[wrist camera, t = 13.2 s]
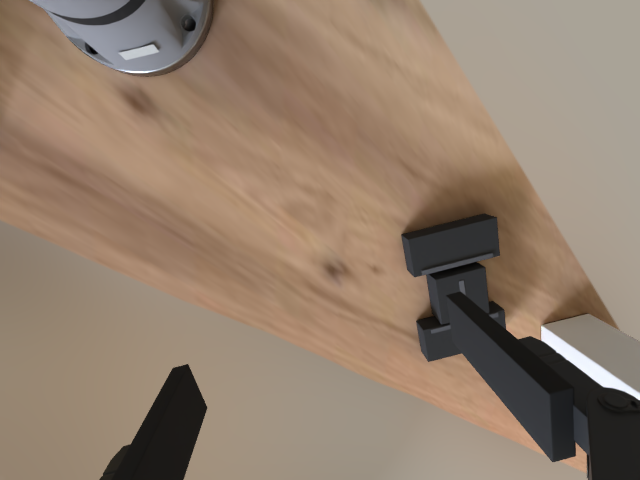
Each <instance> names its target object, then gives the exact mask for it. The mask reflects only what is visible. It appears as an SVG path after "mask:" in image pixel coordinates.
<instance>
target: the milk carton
mask: <svg viewBox="0 0 640 480" xmlns="http://www.w3.org/2000/svg"><path fill="white" fill-rule="evenodd" d="M541 337H542V341H543V342H545V343H546V344H548V345H549V346H550V347H552V348H553V349H554V350H556V352H557V353H559V354H561V355H562V356H563V357H565V358H566V360H569V361H570V362H571V363H572V364H574V365H575V366H576V367H578V368H579V369H580V370H582V371H583V372H584V373H586V374H587V375H588V376H589V377H591V378H592V379H593V380H595V381H596V382H597V383H599V384H600V385H601V386H603V387H607V388H614V389H618V390H621V391H624V392H626V393H628V394H630V395H632V396H634V397H635V398H637V399H638V400H640V341H638V340H636V339H634V338H633V337H631V336H629V335H627V334H625V333H623V332H622V331H620V330H618V329H616V328H614V327H612V326H611V325H609V324H607V323H605V322H603V321H601V320H600V319H598V318H596V317H594V316H592V315H590V314H585V315H581V316H577V317H573V318H569V319H565V320H561V321H557V322H553V323H549V324H545V325H542V326H541Z"/></svg>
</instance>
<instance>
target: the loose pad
mask: <svg viewBox="0 0 640 480" xmlns="http://www.w3.org/2000/svg"><path fill="white" fill-rule="evenodd" d="M426 276H427V283H428V289H429V296H430V302H431V309H432V314H433V315H434V316H435V317H436V318H437V319H438V321H439V322H440V323H441V324H446V323H450V320H449V313H448V306H447V300H446V295H449V294H452V293H456V292H460V291H461V292H462V293H463V294H465V295H466V296H467V297H468V298H469V299H471V300H472V301H473V302H474V303H475V304H476V305H478V306H479V307H480V308H481V309H482V310H484V311H485V312H486V313H489V312H490V311H489V301H488V291H487V281H486V271H485V267H484V266H482V265H481V264H479V263H477V262H473V263H469V264H465V265H461V266H457V267H453V268H449V269H446V270H442V271H438V272H434V273H430V274H426Z"/></svg>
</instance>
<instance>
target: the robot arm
mask: <svg viewBox="0 0 640 480" xmlns="http://www.w3.org/2000/svg"><path fill="white" fill-rule="evenodd" d="M29 1H31V2H33V3H35V4H36V5H38V6H40V7H42V8H43V9H44V10H45V11H46V12H47V14H48V15H49V16H50V17H51V19H52V20H53V21H54V22H55V23H56V25H57V26H58V27H59V28H60V30H61V31H62V32H63V33H64V34H65V35H66V37H67V38H68V39H69V40H70V41H71V42H72V43H73V44H74V45H75V46H76V47H77V48H78V49H80V50H81V51H82V52H84V53H85V54H86V55H88V56H89V57H91V58H92V59H94V60H96V61H97V62H99V63H101V64H103V65H105V66H108V67H110V68H112V69H114V70H117V71H119V72H122V73H125V74H129V75H134V76H145V77H149V76H158V75H163V74H166V73H170V72H172V71H174V70H176V69H178V68H180V67H182V66H183V65H184V64H186V63H187V62H188V61H189V60H190V59H192V58H193V57H194V55H195V54H196V53H197V52H198V51H199V49H200V48H201V46H202V45H203V43H204V41H205V39H206V37H207V34H208V32H209V29H210V25H211V21H212V16H213V4H214V0H29ZM446 300H447V306H448V313H449V320H450V326H451V333H452V340H453V343H454V344H455V345H456V346H457V348H458V349H459V350H460V351H461V352H462V354H463V355H464V356H465V357H466V358H467V360H468V361H469V362H470V363H471V365H472V366H473V367H474V368H475V369H476V371H477V372H478V373H479V374H480V375H481V377H482V378H483V379H484V380H485V381H486V383H487V384H488V385H489V386H490V387H491V389H492V390H493V391H494V392H495V393H496V395H497V396H498V397H499V398H500V399H501V401H502V402H503V403H504V404H505V406H506V407H507V408H508V409H509V410H510V412H511V413H512V414H513V415H514V416H515V418H516V419H517V420H518V421H519V422H520V424H521V425H522V426H523V427H524V428H525V430H526V431H527V432H528V433H529V434H530V436H531V437H532V438H533V439H534V440H535V442H536V443H537V444H538V445H539V446H540V448H541V449H542V450H543V451H544V453H545V454H546V455H547V456H548V457H549V458H550V460H551V461H552V462H556V461H559V460H563V459H567V458H570V457H574V456H576V446H575V442H576V443H577V444H578V445H579V446H580V447H581V448H582V449H583V450H584V451H585V452H586V453H587V478H588V480H640V400H638V399H637V398H635V397H634V396H632V395H630V394H628V393H626V392H624V391H621V390H618V389H614V388H607V387H603V386H601V385H600V384H599V383H597V382H596V381H595V380H593V379H592V378H591V377H589V376H588V375H587V374H586V373H584V372H583V371H582V370H580V369H579V368H578V367H576V366H575V365H574V364H572V363H571V362H570V361H569V360H566V358H565V357H563V356H562V355H561V354H559V353H557V352H556V350H554V349H553V348H552V347H550V346H549V345H548V344H546V343H545V342H543V341H540V340H538V339H536V338H533V337H531V336H529V337H525V338H522V339H517V338H515V337H514V336H513V335H512V334H511V333H510V332H508V331H507V330H506V329H505V328H504V327H502V326H501V325H500V324H499V323H498V322H497V321H495V320H494V319H493V318H492V317H491V316H489V315H488V314H487V313H486V312H485V311H484V310H482V309H481V308H480V307H479V306H478V305H476V304H475V303H474V302H473V301H472V300H471V299H469V298H468V297H467V296H466V295H465V294H463V293H462V292H461V291H460V292H456V293H452V294H449V295H446ZM206 410H207V406H206V404H205V401H204V399H203V397H202V395H201V392H200V390H199V388H198V386H197V383H196V381H195V379H194V376H193V374H192V372H191V370H190V368H189V365H188V364H186V365H183V366H179V367H175V368H173V369H172V371H171V372H170V374H169V376H168V378H167V380H166V381H165V383H164V385H163V387H162V389H161V391H160V392H159V394H158V396H157V398H156V400H155V402H154V403H153V405H152V407H151V409H150V410H149V412H148V414H147V416H146V418H145V420H144V421H143V423H142V425H141V427H140V429H139V431H138V432H137V434H136V436H135V438H134V439H133V441H132V443H131V444H130V445H127V446H123V447H122V448H121V450H120V451H119V452H118V453H117V454H116V455H115V456H114V457H113V458H112V460H111V461H110V463H109V465H108V466H107V468H106V470H105V471H104V473H103V476H102V477H101V478H100V480H183V479H184V476H185V473H186V470H187V467H188V464H189V461H190V458H191V455H192V452H193V449H194V446H195V443H196V440H197V437H198V434H199V431H200V428H201V425H202V422H203V419H204V416H205V413H206Z"/></svg>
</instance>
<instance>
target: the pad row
mask: <svg viewBox="0 0 640 480" xmlns="http://www.w3.org/2000/svg"><path fill="white" fill-rule="evenodd" d="M401 236H402V241H403V247H404V253H405V259H406V265H407V270H408V271H409V272H410V273H411V274H412V275H413V276H414V277H417V276H421V275H426V274H430V273H434V272H438V271H442V270H446V269H449V268H453V267H457V266H461V265H465V264H469V263H473V262H477V261H481V260H485V259H489V258H493V257H496V256H500V251H499V239H498V227H497V217H494V216H491V215H488V214H481V215H477V216H473V217H469V218H465V219H461V220H457V221H453V222H449V223H445V224H441V225H437V226H433V227H430V228H426V229H422V230H418V231H414V232H410V233H406V234H402V235H401ZM489 311H490V312H489V313H487V314H488V315H489V316H491V317H492V318H493V319H494V320H495V321H497V322H498V323H499V324H500V325H501V326H502V327H504V328H505V329H506V324H505V312H504V309H503V308H502V307H500V306H499V305H498V304H496V303H495V302H493V301H492V302H489ZM416 323H417V329H418V334H419V340H420V346H421V351H422V353H423V354H424V356H425V357H426V359H427V361H428V362H430V361H434V360H438V359H442V358H445V357H449V356H453V355H457V354H461V353H462V352H461V351H460V350H459V349H458V348H457V346H456V345H455V344H454V343H453V340H452V333H451V326H450V323H446V324H441V323H440V322H439V321H438V319H437V318H436V317H435V316H433V317H429V318H425V319H421V320H417V321H416Z"/></svg>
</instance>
